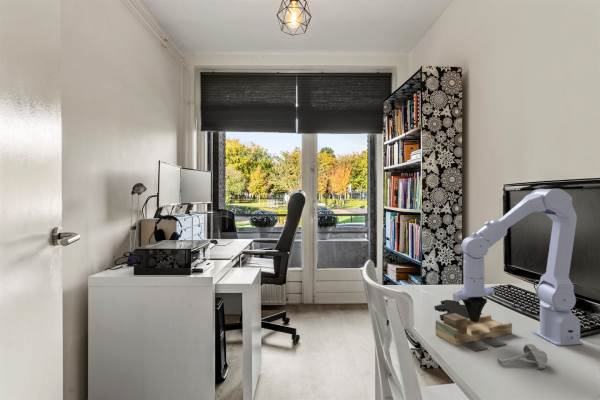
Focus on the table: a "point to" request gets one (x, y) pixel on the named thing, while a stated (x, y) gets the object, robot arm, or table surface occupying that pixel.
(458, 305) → the black pixelated cutout
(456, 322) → the walnut block
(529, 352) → the mushroom
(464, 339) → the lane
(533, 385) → the table surface
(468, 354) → the table surface
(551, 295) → the robot arm
